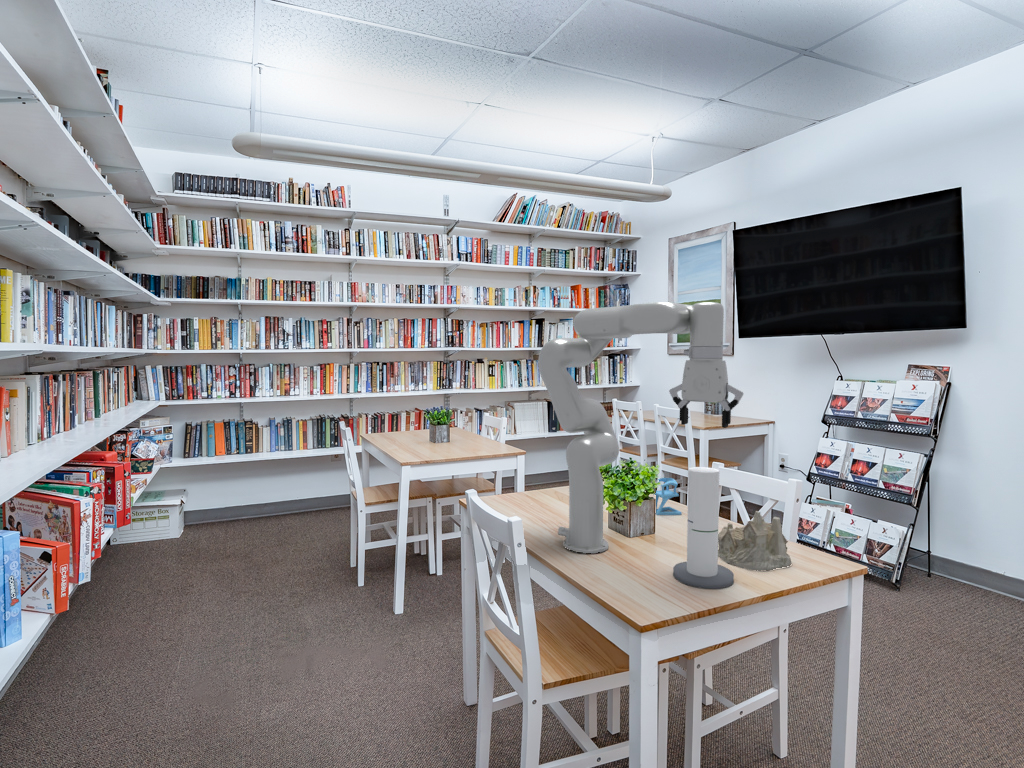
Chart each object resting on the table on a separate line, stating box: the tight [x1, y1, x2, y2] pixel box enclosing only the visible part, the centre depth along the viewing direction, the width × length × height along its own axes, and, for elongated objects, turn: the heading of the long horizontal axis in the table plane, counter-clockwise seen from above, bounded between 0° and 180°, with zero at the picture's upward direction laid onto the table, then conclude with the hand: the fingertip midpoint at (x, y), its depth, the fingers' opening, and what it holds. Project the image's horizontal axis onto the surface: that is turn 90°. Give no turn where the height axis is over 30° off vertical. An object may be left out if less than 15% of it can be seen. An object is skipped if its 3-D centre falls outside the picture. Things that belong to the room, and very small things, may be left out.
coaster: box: [672, 561, 735, 590], centre depth 141 cm, size 14×14×2 cm
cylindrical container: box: [686, 466, 720, 577], centre depth 141 cm, size 7×7×25 cm
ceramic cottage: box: [718, 510, 793, 572], centre depth 154 cm, size 16×16×15 cm
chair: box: [655, 477, 682, 516], centre depth 199 cm, size 8×8×12 cm
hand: (704, 425), depth 140 cm, fingers open, 9 cm apart
